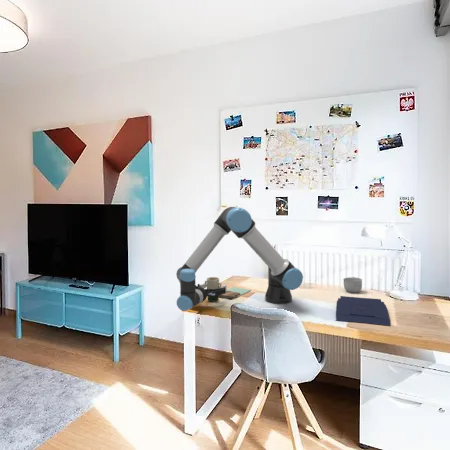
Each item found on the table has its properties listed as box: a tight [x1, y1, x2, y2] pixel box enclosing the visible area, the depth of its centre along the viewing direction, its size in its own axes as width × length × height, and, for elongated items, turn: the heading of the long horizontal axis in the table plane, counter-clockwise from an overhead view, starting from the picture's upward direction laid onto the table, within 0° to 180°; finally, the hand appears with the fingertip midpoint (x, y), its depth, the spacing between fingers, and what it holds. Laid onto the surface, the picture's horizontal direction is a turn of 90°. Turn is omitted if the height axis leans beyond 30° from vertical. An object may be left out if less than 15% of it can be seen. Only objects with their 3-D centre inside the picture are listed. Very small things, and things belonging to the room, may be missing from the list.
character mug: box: [204, 276, 222, 302], centre depth 206 cm, size 11×7×13 cm, turn 61°
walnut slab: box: [218, 291, 241, 300], centre depth 216 cm, size 16×9×2 cm, turn 55°
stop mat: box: [226, 286, 252, 296], centre depth 225 cm, size 13×12×1 cm
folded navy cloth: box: [335, 295, 391, 327], centre depth 184 cm, size 24×30×4 cm
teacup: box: [342, 276, 363, 294], centre depth 225 cm, size 14×11×8 cm
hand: (215, 285), depth 209 cm, fingers open, 12 cm apart
